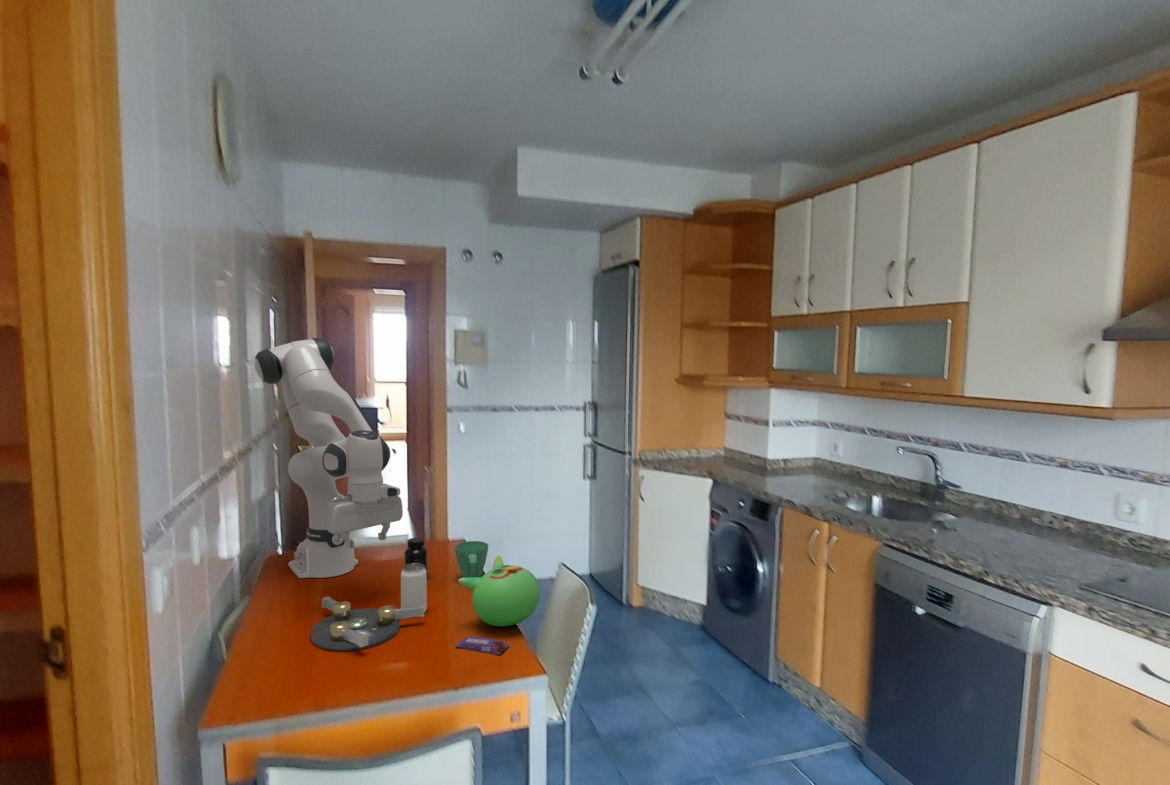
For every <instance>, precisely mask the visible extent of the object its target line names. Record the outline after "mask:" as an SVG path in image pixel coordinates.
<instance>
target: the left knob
mask: <svg viewBox="0 0 1170 785" xmlns="http://www.w3.org/2000/svg"><path fill="white" fill-rule="evenodd" d="M377 609H378V622H379V623H380V624H390V623H393V622H395V619H400V620H401V619H409V618H417V617H419V618H422V617H425V612H424V605H420V606H418V607H409V608H401V607H400V608H396V606H394V605H383V606H381V607H379V608H377Z"/></svg>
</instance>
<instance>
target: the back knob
mask: <svg viewBox="0 0 1170 785" xmlns="http://www.w3.org/2000/svg"><path fill="white" fill-rule="evenodd" d="M351 606H352V604H351V602H350V601H345V600H344V601H337V600H334V599H333V598H332V597H331V596H330V595H329V596H328V595H327V596H325V597H321V607H322V608H325V609H327V610H330V611H331V612H332V613H333V615H334V619H336V620H343V619H347V618H349V617H350V616H351V610H352V607H351Z"/></svg>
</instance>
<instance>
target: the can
mask: <svg viewBox="0 0 1170 785" xmlns="http://www.w3.org/2000/svg"><path fill="white" fill-rule="evenodd" d="M424 567H425V565H424V564H420V563H412V564H407V565H405V566H404V565H403V566H402V570H401V573H400V609H401V608H409V607H418V606H420V605H424V613H425V612H426V611H427V608H428V606H427V605H428V604H427V603H428V602H427V601H428V600H427V598H428V597H427V596H428V595H427V592H428V591H427V585H428V584H427V583H428V582H427V579H426V570H425V568H424Z"/></svg>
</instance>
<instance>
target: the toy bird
mask: <svg viewBox="0 0 1170 785" xmlns="http://www.w3.org/2000/svg"><path fill="white" fill-rule="evenodd" d="M457 582H458V584H460V585H462V586H463V587H466V588H468V589H470V590H472V596H471V601H472V602H471V603H472V607H473V610H474V612H475V614H476V615H477V616H478V618H480V619H481V621H483V622H485V623H486V624H488V625H491V626H495V627H510V626H514V625H517V624H520V623H522V622H523V621H525V620H527V619H528V618H529V617H530V616H531V615H532V614H533V613H534V612H535V610H536V609H537V607H538V605H539V603H540V602H539V601H540V597H541V588H540V583H539V582H538V580H537V578H536V577H535V575H534V573H532V572H531V571H530V570H529V569H527V568H524V567H522V566H518V565H509V564H507V565H505V564H504V561H503V559H502V557H501V556H500V555H497V556H495V558H494V561H493V565H492V568H491V570H489V571H487V572H486V573H485V574H483V575H481V577H467V578H463V577H460V578H459V579H458V580H457Z"/></svg>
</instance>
